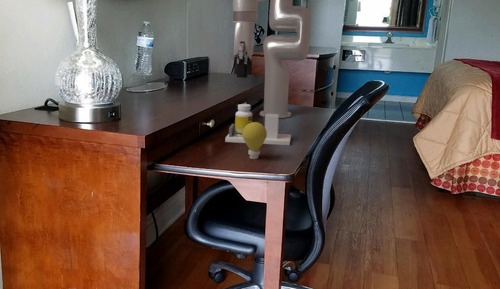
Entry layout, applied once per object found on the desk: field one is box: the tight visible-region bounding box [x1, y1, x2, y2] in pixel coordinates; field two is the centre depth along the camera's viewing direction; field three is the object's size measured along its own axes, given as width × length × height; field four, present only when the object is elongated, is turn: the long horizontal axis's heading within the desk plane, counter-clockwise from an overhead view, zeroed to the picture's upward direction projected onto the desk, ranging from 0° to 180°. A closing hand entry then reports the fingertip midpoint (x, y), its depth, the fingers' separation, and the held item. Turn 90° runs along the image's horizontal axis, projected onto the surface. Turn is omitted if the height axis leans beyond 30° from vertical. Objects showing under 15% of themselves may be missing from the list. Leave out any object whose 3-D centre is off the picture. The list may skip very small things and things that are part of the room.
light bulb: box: [242, 121, 267, 160], centre depth 128 cm, size 7×7×10 cm
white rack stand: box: [224, 114, 292, 146], centre depth 147 cm, size 9×20×8 cm, turn 82°
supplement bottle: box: [234, 103, 253, 137], centre depth 148 cm, size 5×5×10 cm
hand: (244, 75), depth 144 cm, fingers open, 9 cm apart
